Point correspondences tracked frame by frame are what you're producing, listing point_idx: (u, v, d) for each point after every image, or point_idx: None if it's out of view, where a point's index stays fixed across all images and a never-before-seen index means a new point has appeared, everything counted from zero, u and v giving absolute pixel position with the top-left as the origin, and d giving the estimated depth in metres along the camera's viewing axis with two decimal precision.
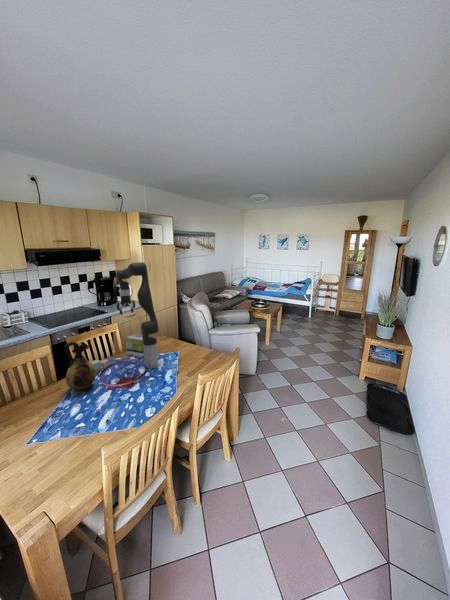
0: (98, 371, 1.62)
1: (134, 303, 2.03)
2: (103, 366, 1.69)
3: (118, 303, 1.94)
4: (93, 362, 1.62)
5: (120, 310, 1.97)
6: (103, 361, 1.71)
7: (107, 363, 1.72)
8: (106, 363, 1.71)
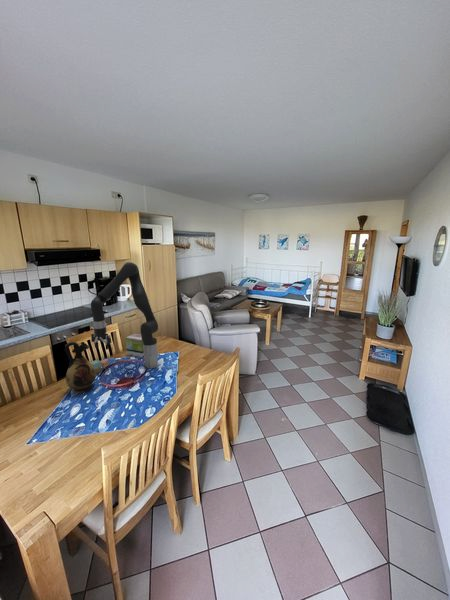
0: (98, 371, 1.62)
1: None
2: (103, 366, 1.69)
3: (109, 335, 1.67)
4: (93, 362, 1.62)
5: None
6: (103, 361, 1.71)
7: (107, 363, 1.72)
8: (106, 363, 1.71)
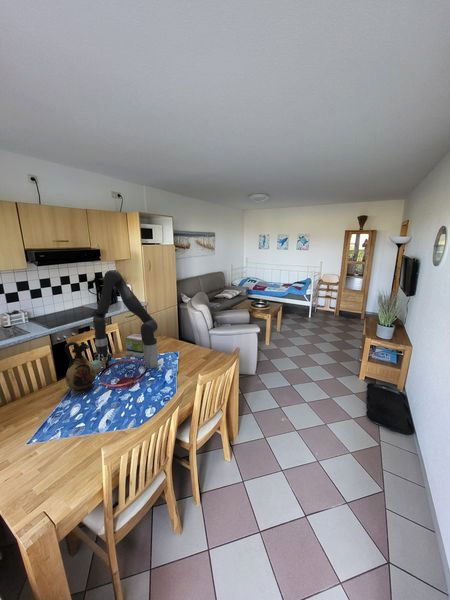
0: (98, 371, 1.62)
1: None
2: (103, 366, 1.69)
3: (111, 353, 1.70)
4: (93, 362, 1.62)
5: None
6: (103, 361, 1.71)
7: None
8: None
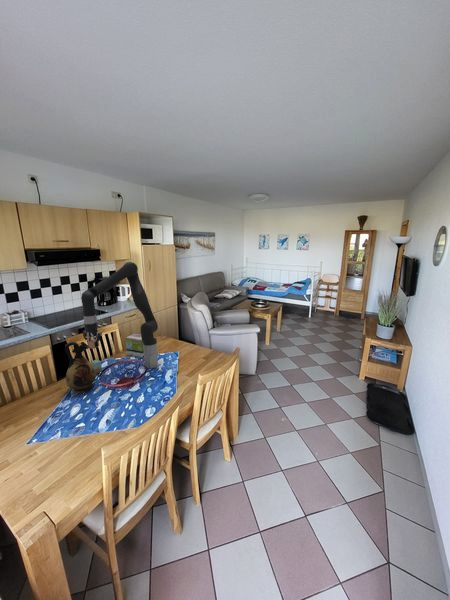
0: (98, 371, 1.63)
1: None
2: (92, 345, 1.58)
3: None
4: (93, 362, 1.62)
5: (97, 341, 1.60)
6: (92, 340, 1.59)
7: None
8: None
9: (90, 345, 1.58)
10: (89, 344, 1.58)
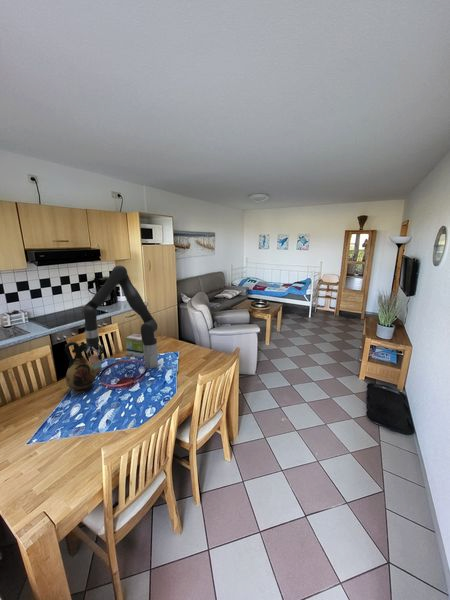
0: (98, 371, 1.62)
1: None
2: (94, 361, 1.60)
3: (102, 344, 1.60)
4: None
5: None
6: (94, 355, 1.62)
7: None
8: (97, 357, 1.62)
9: (92, 360, 1.60)
10: (91, 359, 1.60)
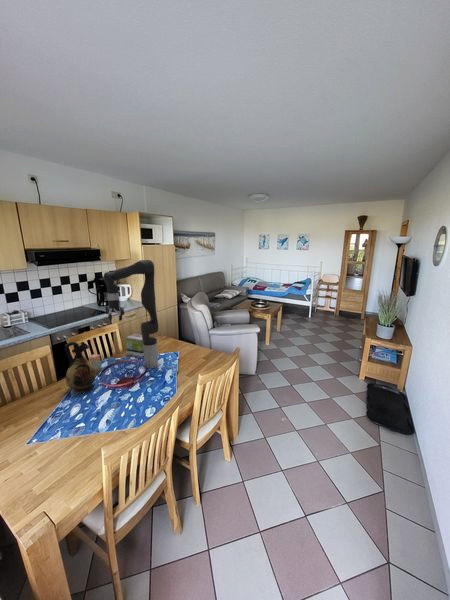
0: (98, 371, 1.62)
1: None
2: (94, 361, 1.60)
3: (123, 307, 1.78)
4: None
5: (121, 315, 1.79)
6: (94, 355, 1.61)
7: (98, 358, 1.62)
8: (97, 357, 1.62)
9: (92, 360, 1.60)
10: (91, 359, 1.60)
